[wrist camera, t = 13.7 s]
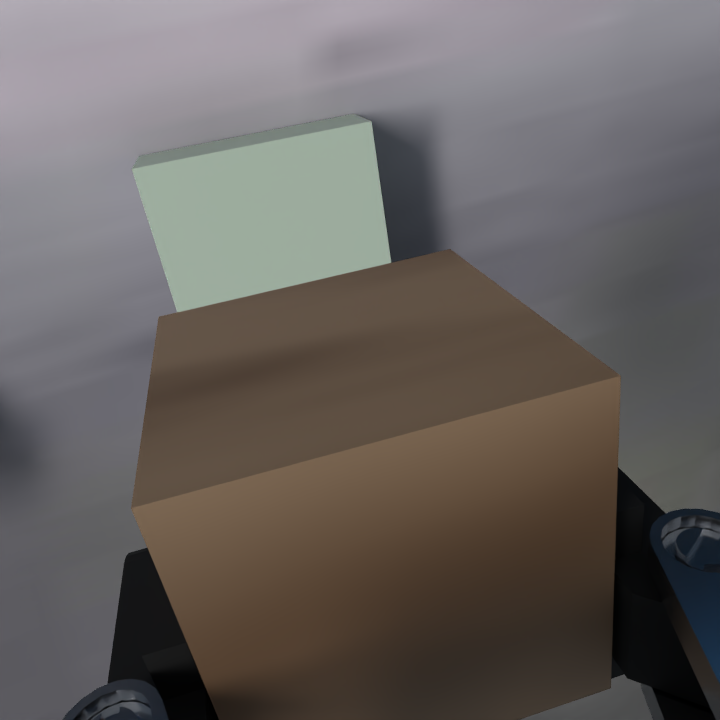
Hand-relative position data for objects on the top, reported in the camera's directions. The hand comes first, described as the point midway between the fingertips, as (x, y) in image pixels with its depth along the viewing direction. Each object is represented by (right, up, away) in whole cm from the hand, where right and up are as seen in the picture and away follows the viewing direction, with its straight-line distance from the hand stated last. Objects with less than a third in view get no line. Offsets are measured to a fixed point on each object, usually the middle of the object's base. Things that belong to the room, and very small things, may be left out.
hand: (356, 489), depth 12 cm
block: (0, +2, 0) cm, 2 cm away
